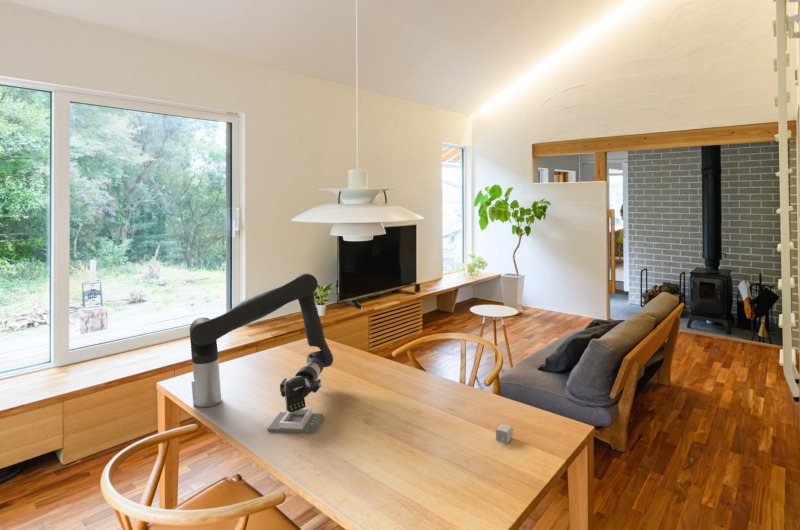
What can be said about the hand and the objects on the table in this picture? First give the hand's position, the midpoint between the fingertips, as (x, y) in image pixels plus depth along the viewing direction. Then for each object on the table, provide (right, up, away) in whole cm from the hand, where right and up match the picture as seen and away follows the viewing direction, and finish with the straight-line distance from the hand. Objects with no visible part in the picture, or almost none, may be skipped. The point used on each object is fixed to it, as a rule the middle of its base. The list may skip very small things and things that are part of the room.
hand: (293, 394), depth 153 cm
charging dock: (0, -11, +4) cm, 12 cm away
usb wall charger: (+69, -13, -9) cm, 71 cm away
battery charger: (0, -6, +3) cm, 7 cm away
